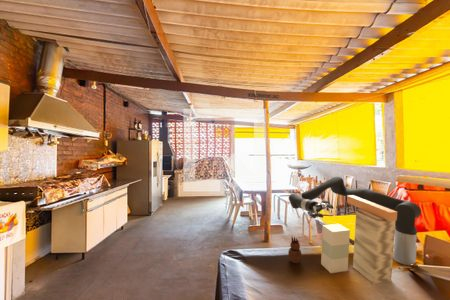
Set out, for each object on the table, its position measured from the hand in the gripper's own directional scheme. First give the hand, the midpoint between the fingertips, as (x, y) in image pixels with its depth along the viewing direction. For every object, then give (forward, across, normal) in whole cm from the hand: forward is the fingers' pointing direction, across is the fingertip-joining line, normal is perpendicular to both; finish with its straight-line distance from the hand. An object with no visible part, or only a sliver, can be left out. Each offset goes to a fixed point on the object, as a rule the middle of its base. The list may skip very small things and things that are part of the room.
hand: (327, 211), depth 130 cm
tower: (+9, +18, -20) cm, 29 cm away
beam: (+20, -10, -1) cm, 22 cm away
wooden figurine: (-1, +33, -11) cm, 34 cm away
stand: (+19, +6, -29) cm, 35 cm away
